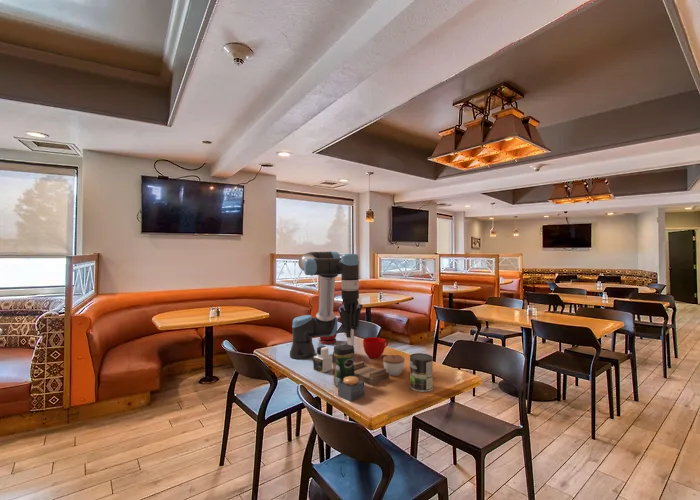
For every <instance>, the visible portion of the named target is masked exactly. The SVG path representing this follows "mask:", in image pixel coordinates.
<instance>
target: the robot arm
mask: <svg viewBox="0 0 700 500" xmlns="http://www.w3.org/2000/svg"><path fill="white" fill-rule="evenodd" d="M298 267H299V268H300V270H302V271H303V272H304V274H305V276H319V278H320V281H319V283H320V284H319V298H318V299H319V302H318V312H317V313H316V314H315V317H313V316H312V315H310V314H305V315H300V316H296V317H294V318H293V320H292V326H291V327H292V344H291V348H290V350H289V357H290V359H294V360H305V359H311V358H313V357H314V356H316V350H315V347H314V344H313V338H320V337H324V336H327V337H328V336H333V335H335V333H336V331H337V332H338V318H337V317H336V315H335V313H334V300H335V289H336V288H335V285H336V278H337V277H338V276H339V275H341V284H340V285H341V287H340V288H341V289H342V290H341V300H342V302H341V306H338V307H337V311H338V312H339V318H340V322H341V323H340V324H341V327H342V329H343V330H345V336H346V342H347V343H346V344H348V345H353V346H355V336H356V332H355V331H356V330H357V328H358V327H359V324H360V318H361V313H362V312H361V311H362V308H363V304H361V303H359V300H358V299H359V298H360V291H359V289H360V282H359V281H360V279H359V278H360V277H359V275H360V274H359V273H360V269H359V268H360V260H359V254H357V253H342V254H341V255H340V253H339V252H337V251H310V252H306V253H304V254H302V255H301V256H300V257H299V258H298Z"/></svg>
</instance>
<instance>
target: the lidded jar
mask: <svg viewBox="0 0 700 500" xmlns="http://www.w3.org/2000/svg"><path fill="white" fill-rule="evenodd" d="M382 360H383V368H385V369H386V372H388V373H389V376H392V377H393V376H394V377H395V376H400V375H401V373H402V372H403V371H404V368H405V357H403V356H400V355H396V354H391V355H390V354H389V355H385V356H383V359H382Z"/></svg>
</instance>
